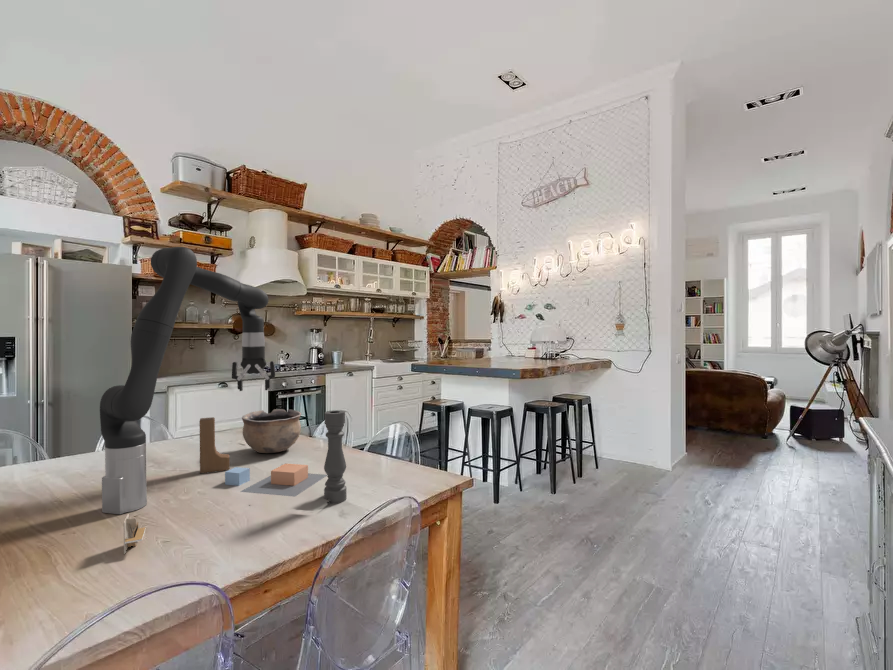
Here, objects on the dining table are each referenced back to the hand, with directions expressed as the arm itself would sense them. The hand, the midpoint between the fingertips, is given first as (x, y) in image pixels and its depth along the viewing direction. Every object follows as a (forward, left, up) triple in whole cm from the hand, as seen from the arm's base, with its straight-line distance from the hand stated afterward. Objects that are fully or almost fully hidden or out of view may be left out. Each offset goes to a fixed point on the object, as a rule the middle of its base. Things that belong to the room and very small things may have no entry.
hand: (253, 390), depth 167 cm
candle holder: (-25, -44, -27) cm, 58 cm away
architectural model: (-62, -13, -27) cm, 69 cm away
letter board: (-19, -24, -26) cm, 40 cm away
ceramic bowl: (+16, +4, -27) cm, 32 cm away
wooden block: (-10, +9, -27) cm, 30 cm away
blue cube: (-21, -9, -27) cm, 35 cm away
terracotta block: (-17, -24, -26) cm, 39 cm away
